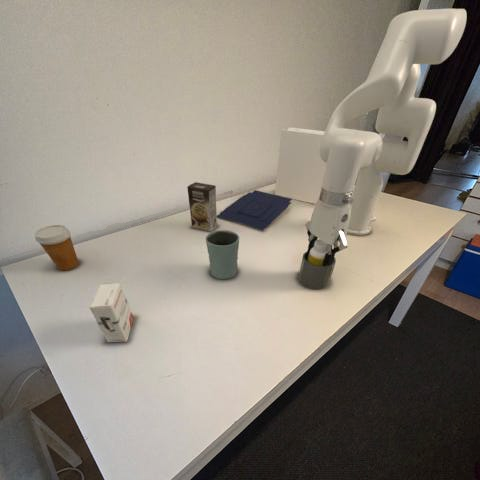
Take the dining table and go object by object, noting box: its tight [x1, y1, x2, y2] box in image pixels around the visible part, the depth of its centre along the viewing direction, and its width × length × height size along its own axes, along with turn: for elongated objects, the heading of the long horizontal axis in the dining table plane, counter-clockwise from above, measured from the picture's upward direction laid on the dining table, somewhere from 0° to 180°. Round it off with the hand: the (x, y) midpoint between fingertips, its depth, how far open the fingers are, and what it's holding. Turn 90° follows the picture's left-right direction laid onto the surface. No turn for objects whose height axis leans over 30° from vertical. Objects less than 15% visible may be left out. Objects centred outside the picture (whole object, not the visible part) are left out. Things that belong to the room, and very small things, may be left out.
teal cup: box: [205, 229, 240, 280], centre depth 82 cm, size 10×10×12 cm
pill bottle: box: [308, 238, 328, 266], centre depth 78 cm, size 6×6×11 cm
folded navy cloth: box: [217, 189, 293, 232], centre depth 119 cm, size 24×30×4 cm
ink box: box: [89, 282, 134, 343], centre depth 63 cm, size 9×5×12 cm, turn 5°
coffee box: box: [187, 181, 218, 233], centre depth 104 cm, size 9×6×16 cm
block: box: [274, 126, 327, 205], centre depth 124 cm, size 35×8×28 cm, turn 57°
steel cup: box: [298, 251, 337, 290], centre depth 81 cm, size 10×10×8 cm
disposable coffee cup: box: [34, 224, 80, 271], centre depth 83 cm, size 10×10×12 cm
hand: (319, 258), depth 78 cm, fingers closed on pill bottle, 6 cm apart
